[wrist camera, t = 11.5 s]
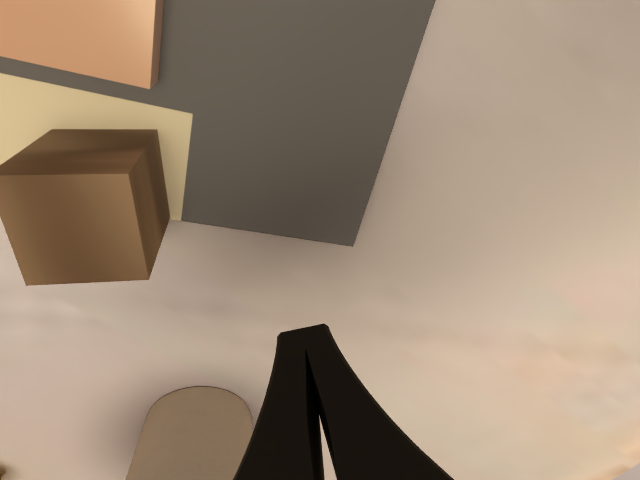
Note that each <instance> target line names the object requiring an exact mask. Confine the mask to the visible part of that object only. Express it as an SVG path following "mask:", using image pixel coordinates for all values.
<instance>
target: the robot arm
mask: <svg viewBox="0 0 640 480" xmlns="http://www.w3.org/2000/svg"><path fill="white" fill-rule="evenodd" d="M319 415H320V419H321V423H322V426H323V430H324V434H325V437H326V441H327V445H328V448H329V452H330V456H331V459H332V463H333V467H334V470H335V474H336V477H337V480H454V479H453V478H452V477H450V476H449V475H448V474H447V473H446V472H445V471H444V470H443V469H442V468H441V467H439V466H438V465H437V464H436V463H435V462H434V461H433V460H432V459H431V458H430V457H428V456H427V455H426V454H425V453H424V452H423V451H422V450H421V449H420V448H419V447H418V446H417V445H416V444H415V443H414V442H413V441H412V440H411V439H410V438H409V437H408V436H407V435H406V434H405V433H404V432H403V431H402V430H401V429H400V428H399V427H398V426H397V425H396V424H395V422H394V421H393V420H392V419H391V418H390V417H389V416H388V415H387V414H386V412H385V411H384V410H383V409H382V408H381V407H380V405H379V404H378V403H377V402H376V400H375V399H374V398H373V397H372V395H371V394H370V393H369V392H368V390H367V389H366V388H365V387H364V385H363V384H362V383H361V381H360V380H359V378H358V377H357V375H356V374H355V373H354V371H353V370H352V368H351V367H350V366H349V364H348V362H347V361H346V359H345V358H344V356H343V355H342V353H341V351H340V350H339V348H338V346H337V344H336V342H335V340H334V339H333V336H332V334H331V332H330V330H329V327H328V326H327V325H325V324H320V325H315V326H310V327H306V328H301V329H296V330H291V331H286V332H281V333H280V334H279V335H278V336H277V347H276V354H275V359H274V364H273V369H272V373H271V377H270V381H269V384H268V388H267V392H266V395H265V399H264V402H263V405H262V408H261V411H260V414H259V417H258V420H257V423H256V426H255V428H254V431H253V434H252V436H251V439H250V442H249V444H248V447H247V449H246V451H245V454H244V456H243V458H242V461H241V463H240V465H239V468H238V470H237V472H236V474H235V476H234V478H233V480H324V468H323V456H322V444H321V432H320V420H319Z"/></svg>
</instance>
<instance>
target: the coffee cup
mask: <svg viewBox="0 0 640 480" xmlns="http://www.w3.org/2000/svg"><path fill="white" fill-rule="evenodd" d="M252 434H253V429H252V420H251V414H250V410H249V408H248V406H247V405H246V403H245V402H244V401H243V400H242V399H241V398H239V397H238V396H236V395H235V394H233V393H231V392H228V391H226V390H223V389H219V388H213V387H190V388H185V389H181V390H177V391H174V392H172V393H170V394H168V395H166V396H164V397H162V398H161V399H160V400H158V401H157V402H156V403H155V404H154V405H153V406H152V408H151V409H150V411H149V413H148V415H147V418H146V421H145V424H144V427H143V430H142V433H141V436H140V439H139V442H138V445H137V447H136V450H135V453H134V456H133V459H132V462H131V465H130V468H129V471H128V474H127V477H126V480H233V478H234V476H235V474H236V472H237V470H238V468H239V465H240V463H241V461H242V458H243V456H244V454H245V451H246V449H247V447H248V444H249V442H250V439H251V436H252Z"/></svg>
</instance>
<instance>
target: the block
mask: <svg viewBox="0 0 640 480" xmlns="http://www.w3.org/2000/svg"><path fill="white" fill-rule="evenodd" d="M0 216H1V219H2V222H3V225H4V227H5V230H6V233H7V235H8V238H9V241H10V243H11V246H12V249H13V251H14V254H15V257H16V260H17V262H18V265H19V268H20V270H21V273H22V276H23V278H24V281H25V284H26V286H28V285H48V284H69V283H90V282H111V281H131V280H149V277H150V274H151V271H152V268H153V266H154V263H155V260H156V257H157V254H158V251H159V248H160V245H161V242H162V239H163V236H164V233H165V230H166V227H167V224H168V222H169V219H170V212H169V205H168V198H167V191H166V185H165V178H164V171H163V164H162V158H161V151H160V144H159V137H158V131H157V129H51V130H50V131H48V132H47V133H46V134H44V135H43V136H41V137H40V138H38V139H37V140H36V141H34V142H33V143H31V144H30V145H28V146H27V147H26V148H24V149H23V150H21V151H20V152H18V153H17V154H16V155H14V156H13V157H11V158H10V159H8V160H7V161H5V162H4V163H3V164H1V165H0Z"/></svg>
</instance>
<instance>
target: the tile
mask: <svg viewBox="0 0 640 480" xmlns="http://www.w3.org/2000/svg"><path fill="white" fill-rule="evenodd" d="M163 5H164V0H0V56H2V57H7V58H11V59H16V60H20V61H25V62H29V63H34V64H38V65H43V66H47V67H52V68H56V69H61V70H65V71H70V72H74V73H79V74H83V75H88V76H93V77H97V78H102V79H106V80H111V81H115V82H120V83H124V84H129V85H133V86H138V87H142V88H147V89H151V88H152V87H153V86H154V85H155V84H156V83H157V82H158V75H159V61H160V47H161V33H162V19H163Z"/></svg>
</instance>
